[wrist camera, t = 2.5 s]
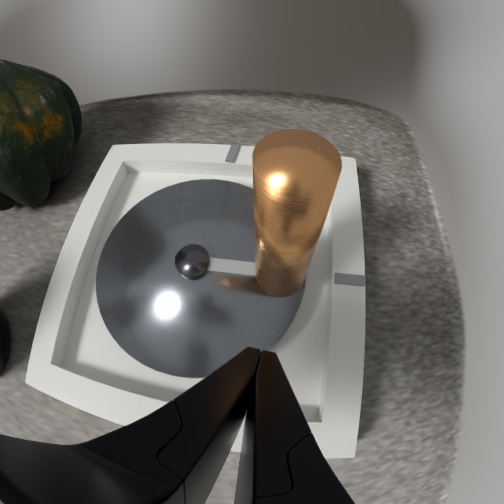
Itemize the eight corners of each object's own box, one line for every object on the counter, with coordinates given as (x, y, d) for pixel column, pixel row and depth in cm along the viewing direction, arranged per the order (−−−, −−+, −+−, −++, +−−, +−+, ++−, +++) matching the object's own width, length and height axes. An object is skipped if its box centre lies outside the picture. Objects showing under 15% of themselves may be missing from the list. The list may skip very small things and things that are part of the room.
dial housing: (342, 450, 14) (355, 458, 12) (45, 386, 15) (23, 382, 13) (348, 178, 23) (355, 156, 21) (121, 163, 25) (111, 143, 22)
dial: (293, 393, 15) (347, 388, 6) (81, 351, 16) (-39, 294, 7) (307, 196, 21) (331, 70, 12) (136, 184, 22) (90, 77, 13)
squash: (-32, 252, 14) (-18, 47, 8) (-53, 196, 19) (-39, 64, 13) (94, 216, 27) (125, 66, 21) (38, 177, 31) (57, 67, 25)
